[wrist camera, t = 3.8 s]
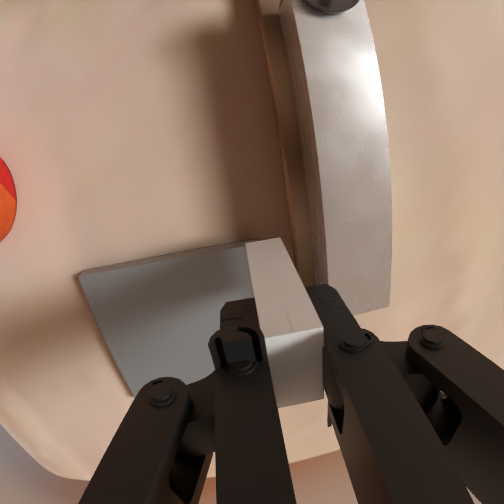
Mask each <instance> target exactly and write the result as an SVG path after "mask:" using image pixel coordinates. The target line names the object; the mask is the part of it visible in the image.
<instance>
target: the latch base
mask: <svg viewBox="0 0 504 504" xmlns="http://www.w3.org/2000/svg"><path fill="white" fill-rule="evenodd" d="M282 2H283V0H255V4H256V9H257V14H258V19H259V24H260V29H261V35H262V40H263V45H264V51H265V56H266V62H267V68H268V73H269V79H270V85H271V91H272V97H273V103H274V110H275V116H276V123H277V129H278V136H279V142H280V149H281V156H282V163H283V170H284V178H285V185H286V193H287V200H288V208H289V216H290V224H291V232H292V241H293V250H294V258H295V268H296V271H297V273H298V275H299V277H300V279H301V281H302V283H303V285H304V287H309V286H315V285H316V284H315V271H314V258H313V247H312V236H311V225H310V215H309V206H308V197H307V188H306V179H305V171H304V163H303V155H302V148H301V140H300V133H299V126H298V119H297V113H296V106H295V100H294V94H293V87H292V81H291V76H290V70H289V64H288V58H287V53H286V48H285V42H284V37H283V32H282V27H281V22H280V17H279V12H278V10H279V8H280V6H281V4H282Z"/></svg>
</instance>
